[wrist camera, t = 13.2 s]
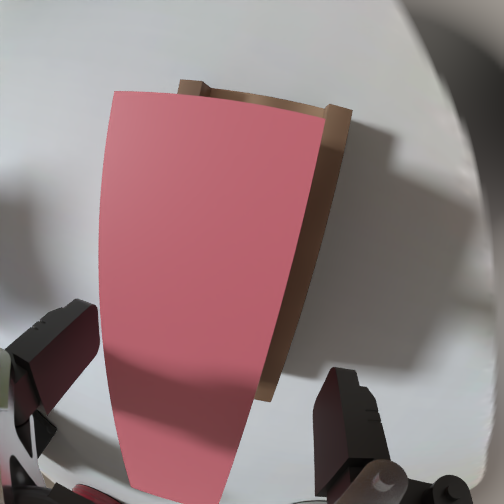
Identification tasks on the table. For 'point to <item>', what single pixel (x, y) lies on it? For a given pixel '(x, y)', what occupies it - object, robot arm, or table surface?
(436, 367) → the table surface
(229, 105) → the book
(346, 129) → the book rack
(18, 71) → the table surface
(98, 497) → the canister
